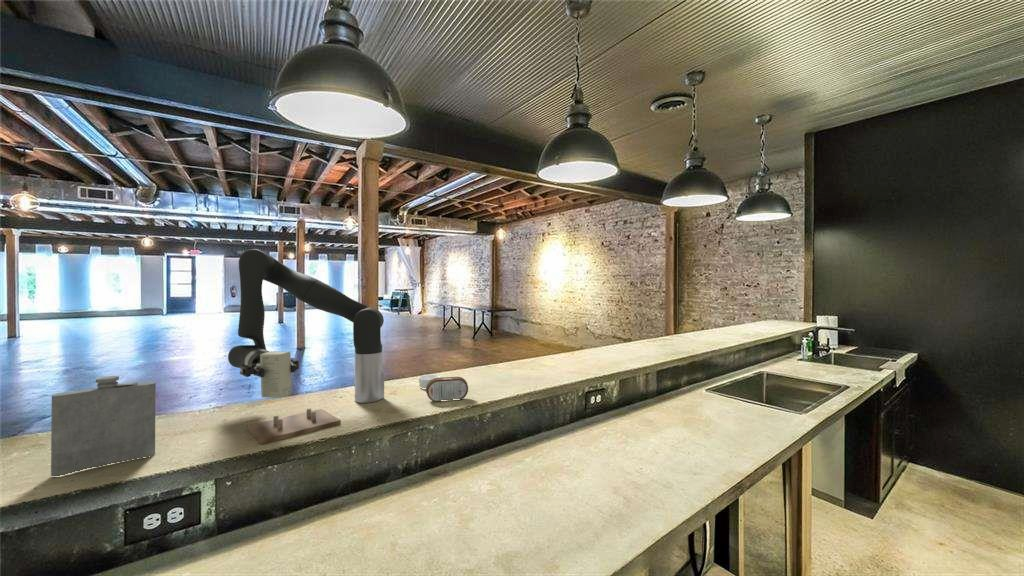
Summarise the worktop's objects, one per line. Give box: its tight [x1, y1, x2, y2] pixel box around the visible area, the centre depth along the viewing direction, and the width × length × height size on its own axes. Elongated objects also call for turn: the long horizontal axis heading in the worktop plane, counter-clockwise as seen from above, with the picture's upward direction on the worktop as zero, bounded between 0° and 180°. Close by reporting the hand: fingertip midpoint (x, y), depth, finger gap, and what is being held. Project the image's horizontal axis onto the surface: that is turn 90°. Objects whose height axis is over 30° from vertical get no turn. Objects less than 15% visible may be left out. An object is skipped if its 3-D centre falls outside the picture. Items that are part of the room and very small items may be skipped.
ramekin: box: [418, 374, 441, 388], centre depth 150 cm, size 9×9×4 cm
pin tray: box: [247, 408, 342, 446], centre depth 107 cm, size 20×15×4 cm
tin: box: [425, 376, 469, 402], centre depth 132 cm, size 15×3×8 cm, turn 106°
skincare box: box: [260, 350, 293, 399], centre depth 103 cm, size 6×4×12 cm
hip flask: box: [50, 375, 157, 477], centre depth 84 cm, size 16×4×20 cm, turn 133°
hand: (278, 371), depth 101 cm, fingers closed on skincare box, 7 cm apart
